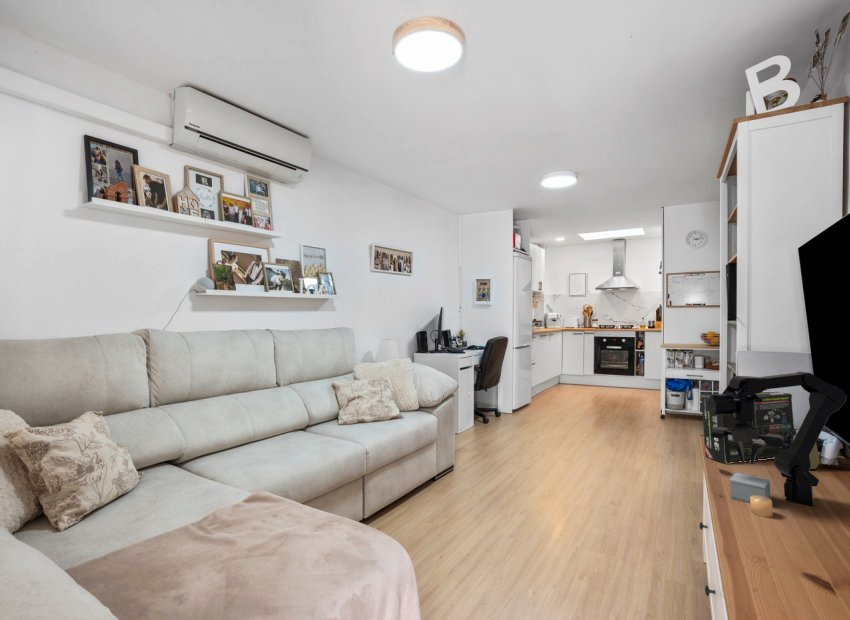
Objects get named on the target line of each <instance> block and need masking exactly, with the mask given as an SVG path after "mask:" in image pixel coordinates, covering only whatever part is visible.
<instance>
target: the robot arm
mask: <svg viewBox="0 0 850 620" xmlns="http://www.w3.org/2000/svg"><path fill="white" fill-rule="evenodd" d="M799 386H801V388H802V389H803V390H804V391H806V392H807V393H808V395H809V396H808V404H809V409H808V412H807V413H806V415H805V417H804V419H803V420H802V421H803V423H802V425H801V427H800V426H799V429H798V430H799V431H798V433H797V434H795V435H796V437H795V439H794V441H793V443H792V445H791V446H790V447H789V448H788V449H786V450H784V449H781V448H780V449H779V451H778V454H777V456H776V457H775V458H774V459H773V460H774V465H775V468H776V469H777V471H778V472H779V473H780V475H781V477H783V478H785V482H784V484H783V490H784V491H783V495H784V497H785V501H787V502H791V503H797V504H801V505H805V506H810V507H813V506H814V505H815V498H814V487H817V486H818V485H819V483H820V482H819V481H820V480H819V479H818V478H817V477H816V476H815V475H814V474H812V473H811V472H810V471H811V470H810V467H811V462H810V453H811V451H812V449H813V447H814V445H815V443H816V444H817V441H818V439H819V437H820V435H821V433H822V431H823V429H824V427H825V424H826V423H827V421H828V419H829V417H830V415H832V414H833V413H835V412H837V411H839V410H840V409H841V408H842V407H843V405H844V404H845V402H846V401H847V397H848V395H847V394H846V393H845V391H844V389H842V388H840V387H839V386H838V387H837V386H835V385H833V384H831V383H828V382H827V381H825V380H823V379H821V378H819V377H818V376H815V375H814V374H813V373H811V372H807V371H797V372H792V373H783V374H782V373H781V374H774V375H766V376H750V375H734V376H732V377H731V378H730V379H729V382H728V385H727V386H726V388H725V389H724V390H723V391H722V393H721V394H722V395H716V394H717V393H716V394H715V393H710V394H709V395H710V398H709V399H708V401H707V409H708V411H709V413H710V414H711V415H732V414H733V413H734V424H733V428H732V430H731V431H728V428H724V427H714V428H713V429H712V430H711V437H713V438H720V439H722V438H723V437H724V436H728V442H730V443H732V444H733V445H734V447H735V448H736V450H737V452H738V454H739V456H740V459H741V461H742V462H743V463H745V462H744V452H743V444H742V442H745V443H750V442H751V440H753V443H752V444H751V447H752V450H751V462H750V464H752V465H753V464H754V462H755V461H754V460H755V457H756V454H757V452H758V450H759V448H760V447H764V445H765V444H767V445H769V446H774V447H783V445H784V437H783V436H782V435H777V434H770V433H768V434H767V435H766V436H763V435H759V430H758V428H757V427H756V410H755V402H762V401H763V400H762V399H761V398H759V397H758V396H757V395H756V394H758V393H761V392H763V391H769V390H773V389H774V390H775V389H783V388H789V387H799ZM748 395H749V396H748Z"/></svg>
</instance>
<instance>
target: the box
mask: <svg viewBox="0 0 850 620" xmlns="http://www.w3.org/2000/svg"><path fill="white" fill-rule="evenodd" d="M770 482H771V481H770ZM770 482H769V483H768V485H767V486H766V488H765V489H764V488H760V487H755V486H750V485H745V484H740V483H735V482H730V481H729V484H730V485H729V487H730V499H731V500H735V501H739V502H744V503H747V504H748V503H749V504H751V502H750V496H752V495H758V496H764V497H767V498H769V499H771V498H772V497H771V483H770Z"/></svg>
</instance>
